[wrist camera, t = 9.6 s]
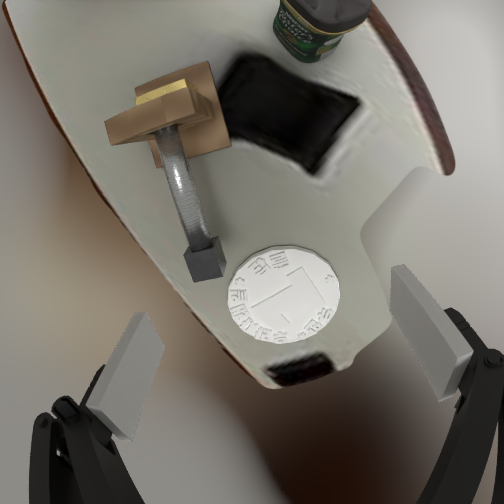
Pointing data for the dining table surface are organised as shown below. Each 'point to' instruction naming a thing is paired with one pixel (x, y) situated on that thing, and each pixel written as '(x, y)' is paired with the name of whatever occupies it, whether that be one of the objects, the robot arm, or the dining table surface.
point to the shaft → (189, 208)
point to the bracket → (175, 114)
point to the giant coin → (283, 294)
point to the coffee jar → (317, 25)
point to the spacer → (164, 91)
